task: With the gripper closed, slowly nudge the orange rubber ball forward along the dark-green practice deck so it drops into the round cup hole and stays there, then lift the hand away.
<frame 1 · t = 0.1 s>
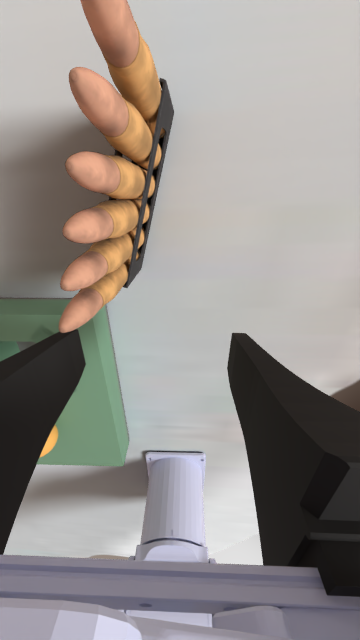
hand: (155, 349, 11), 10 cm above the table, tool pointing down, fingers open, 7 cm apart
ammunition clip: (143, 197, 17), on the table
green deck: (56, 381, 26), on the table
ball: (37, 437, 22), point 5 cm above the table, touching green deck
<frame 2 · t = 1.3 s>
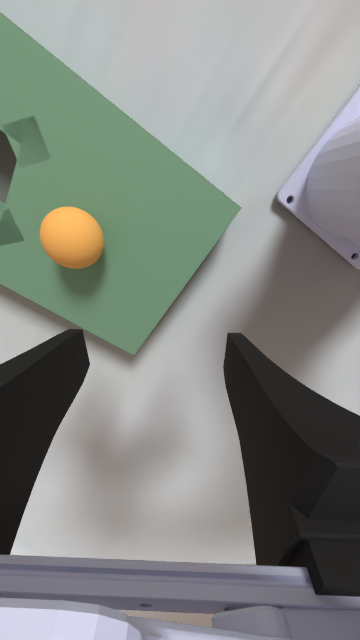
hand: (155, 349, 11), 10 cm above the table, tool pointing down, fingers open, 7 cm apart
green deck: (72, 208, 18), on the table
ball: (73, 238, 14), point 5 cm above the table, touching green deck
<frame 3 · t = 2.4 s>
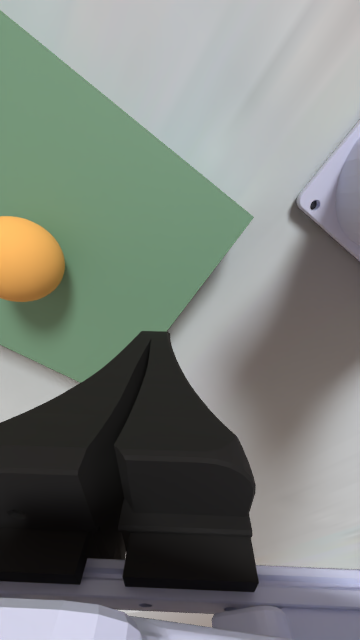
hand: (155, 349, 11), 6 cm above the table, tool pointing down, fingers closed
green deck: (31, 215, 14), on the table
ball: (19, 260, 10), point 5 cm above the table, touching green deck
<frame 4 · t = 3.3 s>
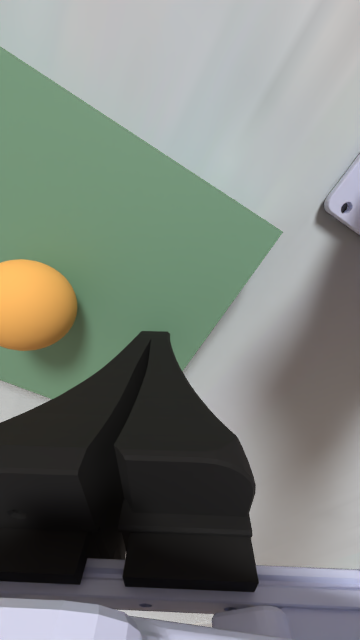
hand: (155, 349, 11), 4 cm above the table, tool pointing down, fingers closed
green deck: (37, 247, 13), on the table
ball: (28, 305, 9), point 5 cm above the table, touching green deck
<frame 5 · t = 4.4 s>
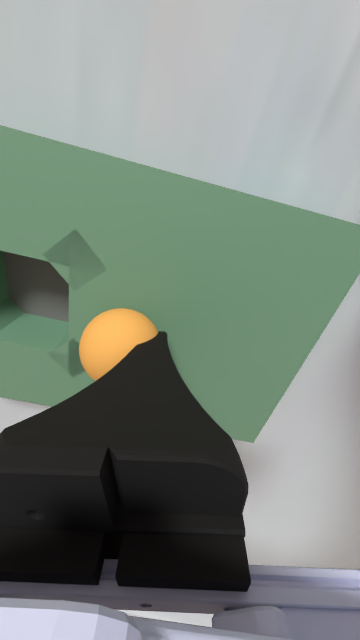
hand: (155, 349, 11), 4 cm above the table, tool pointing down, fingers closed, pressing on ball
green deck: (132, 299, 15), on the table
ball: (121, 347, 10), point 5 cm above the table, tilted 60°, touching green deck, gripper
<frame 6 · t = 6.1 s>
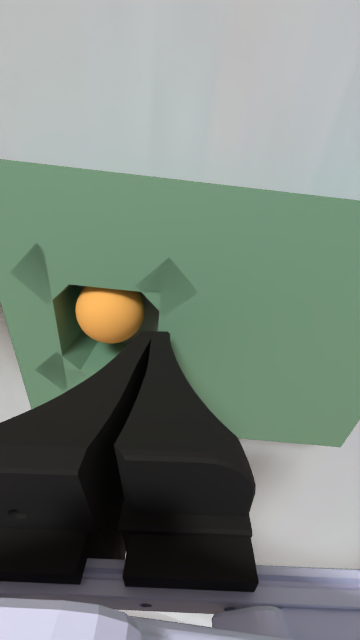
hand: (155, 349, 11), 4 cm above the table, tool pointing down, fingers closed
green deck: (202, 315, 15), on the table
ball: (111, 310, 12), point 2 cm above the table, tilted 84°, touching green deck
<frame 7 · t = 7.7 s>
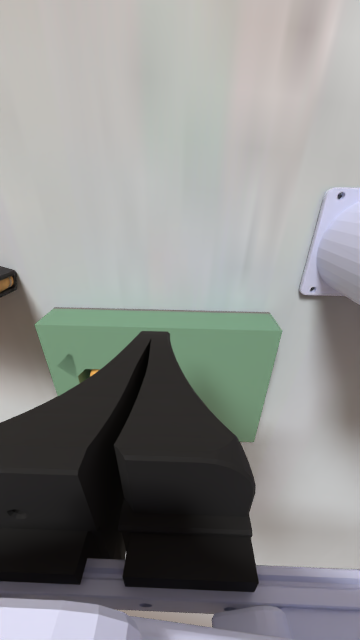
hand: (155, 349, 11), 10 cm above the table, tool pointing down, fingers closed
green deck: (162, 368, 25), on the table
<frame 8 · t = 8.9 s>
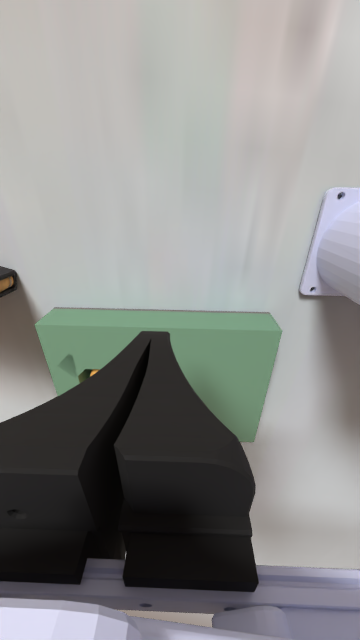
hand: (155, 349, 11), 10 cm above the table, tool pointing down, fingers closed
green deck: (162, 368, 25), on the table
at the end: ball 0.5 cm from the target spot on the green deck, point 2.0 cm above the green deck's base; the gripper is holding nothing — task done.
